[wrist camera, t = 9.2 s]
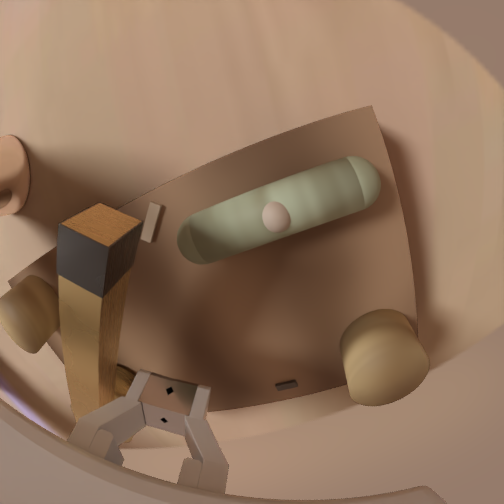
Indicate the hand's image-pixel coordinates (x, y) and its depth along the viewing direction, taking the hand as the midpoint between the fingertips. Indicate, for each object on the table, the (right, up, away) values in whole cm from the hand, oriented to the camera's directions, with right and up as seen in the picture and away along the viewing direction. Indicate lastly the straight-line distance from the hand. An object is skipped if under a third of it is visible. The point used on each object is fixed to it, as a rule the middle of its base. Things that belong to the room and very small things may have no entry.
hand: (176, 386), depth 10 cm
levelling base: (0, +2, +7) cm, 7 cm away
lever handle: (-4, +1, +4) cm, 5 cm away
